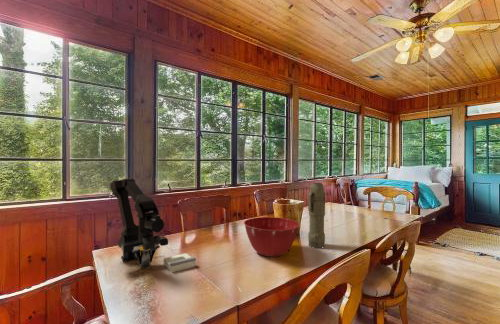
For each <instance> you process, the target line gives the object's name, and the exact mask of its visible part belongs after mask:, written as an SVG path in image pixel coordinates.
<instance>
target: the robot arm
mask: <svg viewBox="0 0 500 324" xmlns="http://www.w3.org/2000/svg"><path fill="white" fill-rule="evenodd" d="M109 187H110V190H111V193H112V195H113V196H114V197H116V198H117V201H118V202H117V203H118V206H119V211H120V216H121V220H122V221H121V222H122V226H123V227H122V230H121V232H120V238H119V240H118V242H117V246H118V248H121V251H122V255H121V257H120V258H121V260H122V261H123V262H129V261H132V260H133V261H134V260H137V261H138V264H139V265H141V249H140V248H143V249H142V250H148V249H149V250H150V263H151V262H152V261H153V258H154V255H155V253H156V251H157V250H158V249H160V248H161V247H162V246H167V245H168V246H169V239H168V238H167V237H166V236H165V235H162V236H161V235H154V233H159V232H162V231H163V229H164V227H165V222H164V219H162V218H161V215H160V212H159V208H158V207H157V205H156V202H155V201H154V199H153V198H151V196H148V195H145V194H144V192H143V191H142V190H141V187H140V186H139V185H138V184H137V183H136V180H135V178H132V177H131V178H123V179H118V180H117V179H116V180H112V182H111V183H110V185H109ZM129 195H130V197H131V199H132V200H133V201H134V208H135V212H136V213H137V215H136V218H138V225H137V224H136V223H135V221H134V216H133V212H132V207H131V203H130V198H129Z"/></svg>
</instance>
